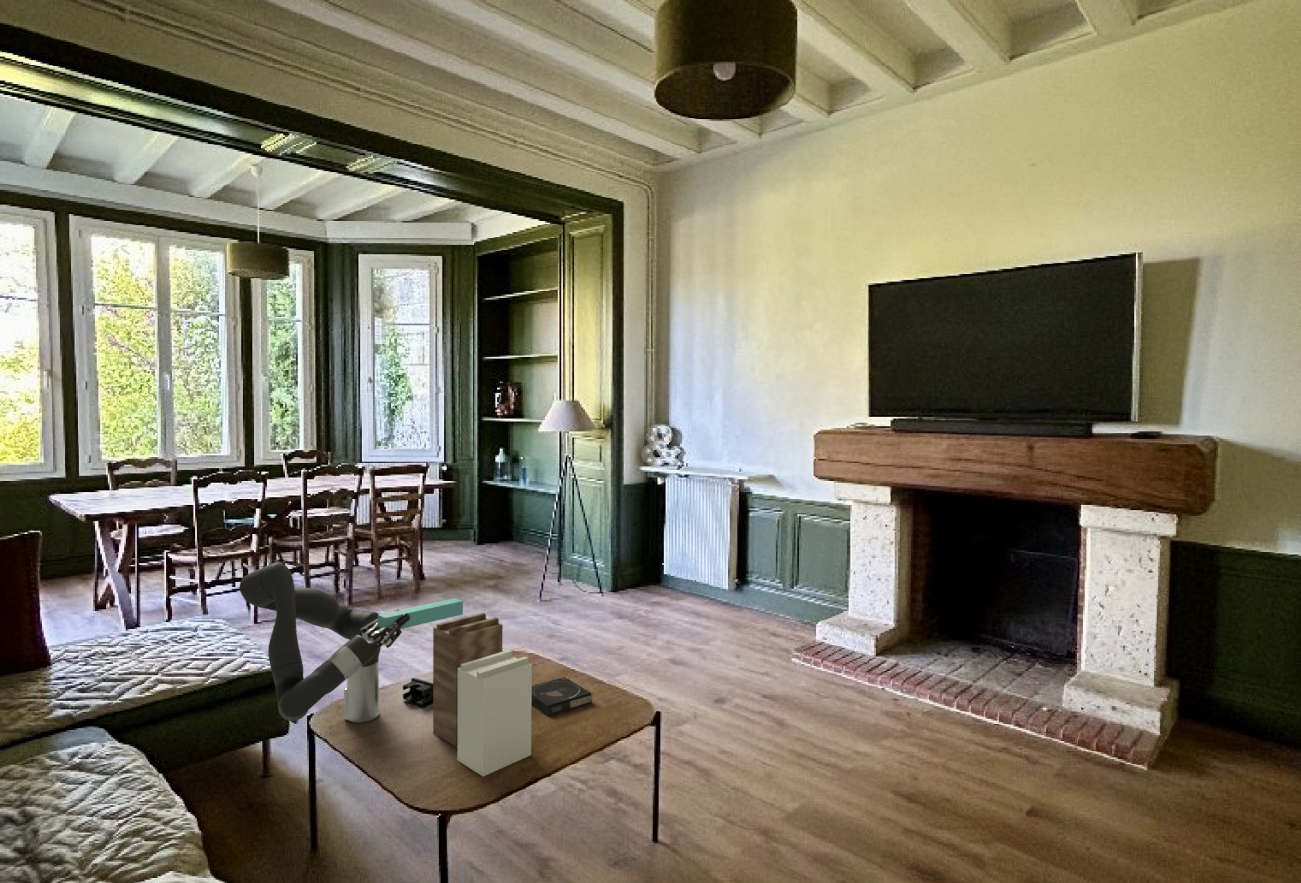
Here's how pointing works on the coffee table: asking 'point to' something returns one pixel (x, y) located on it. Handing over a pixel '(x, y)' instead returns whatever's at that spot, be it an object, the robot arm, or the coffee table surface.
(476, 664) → the grey plinth
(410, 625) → the teal bar
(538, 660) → the coffee table surface
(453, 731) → the walnut plinth
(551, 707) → the portable cd player
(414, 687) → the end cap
